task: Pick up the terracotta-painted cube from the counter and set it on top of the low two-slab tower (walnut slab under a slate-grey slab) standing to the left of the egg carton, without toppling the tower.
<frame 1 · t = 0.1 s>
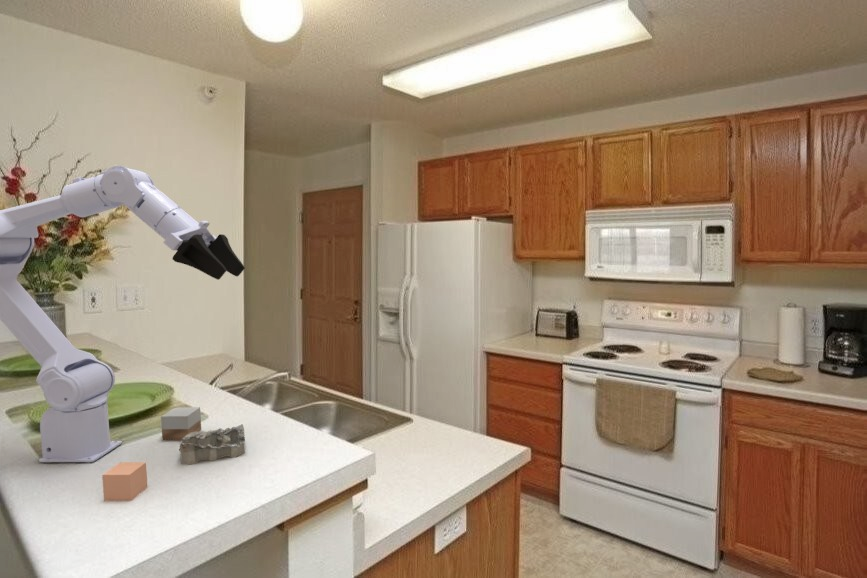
hand: (232, 273, 84), 32 cm above the worktop, tool tilted 50°, fingers open, 7 cm apart
egg carton: (213, 454, 87), on the worktop
terracotta cube: (126, 493, 73), on the worktop
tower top: (181, 424, 95), point 2 cm above the worktop
tower base: (182, 436, 95), on the worktop
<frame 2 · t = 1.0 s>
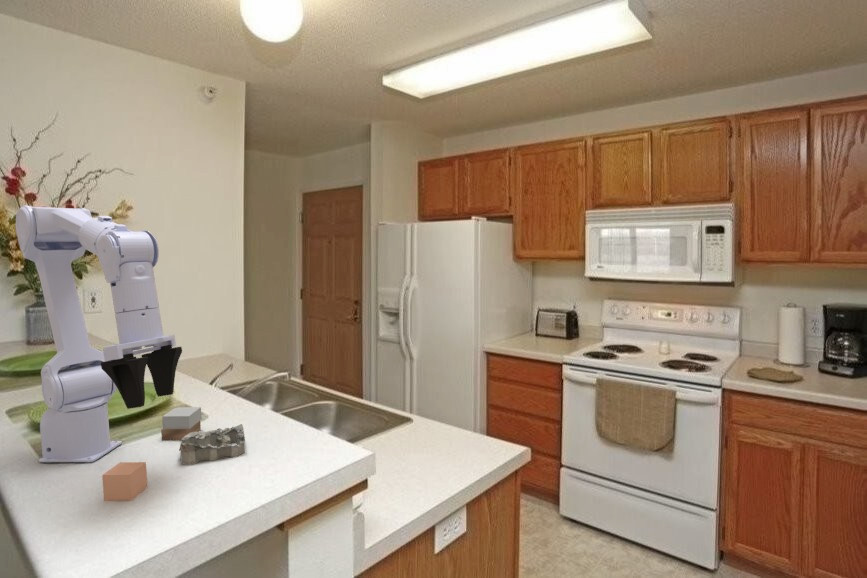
hand: (151, 401, 73), 14 cm above the worktop, tool pointing down, fingers open, 7 cm apart
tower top: (182, 424, 95), point 2 cm above the worktop, touching tower base
tower base: (181, 436, 95), on the worktop, touching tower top
everything else where it was.
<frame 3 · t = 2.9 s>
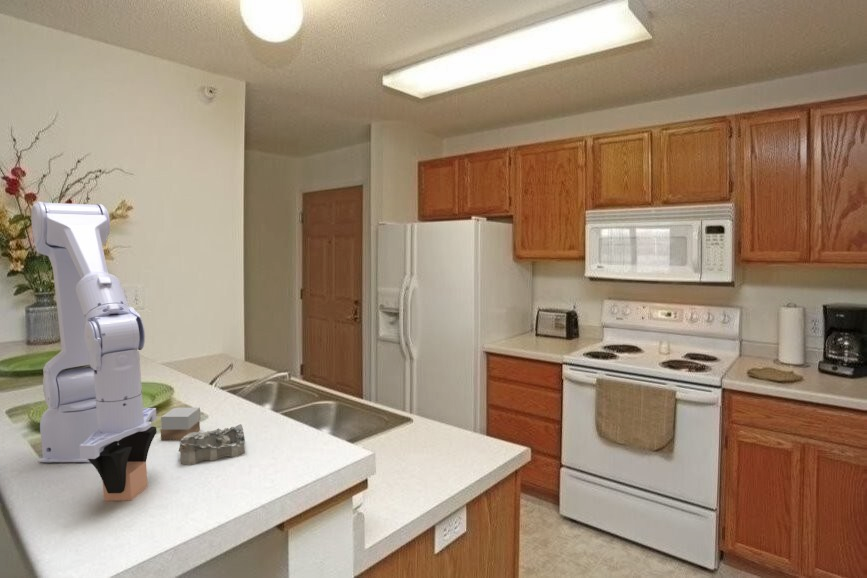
hand: (125, 484, 73), 1 cm above the worktop, tool pointing down, fingers closed on terracotta cube, 4 cm apart
terracotta cube: (126, 493, 73), on the worktop, touching gripper
everything else where it was.
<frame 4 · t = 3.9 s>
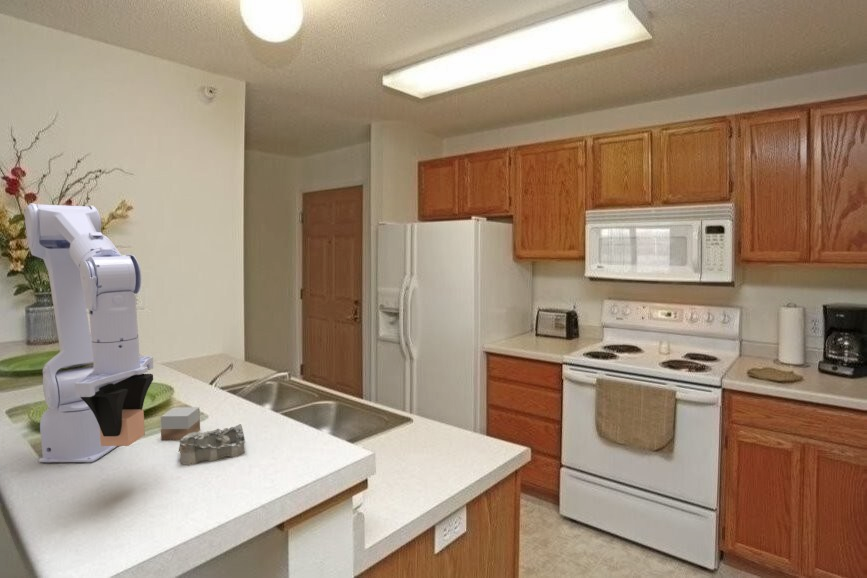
hand: (122, 429, 72), 10 cm above the worktop, tool pointing down, fingers closed on terracotta cube, 4 cm apart
terracotta cube: (123, 440, 72), point 8 cm above the worktop, touching gripper
everything else where it was.
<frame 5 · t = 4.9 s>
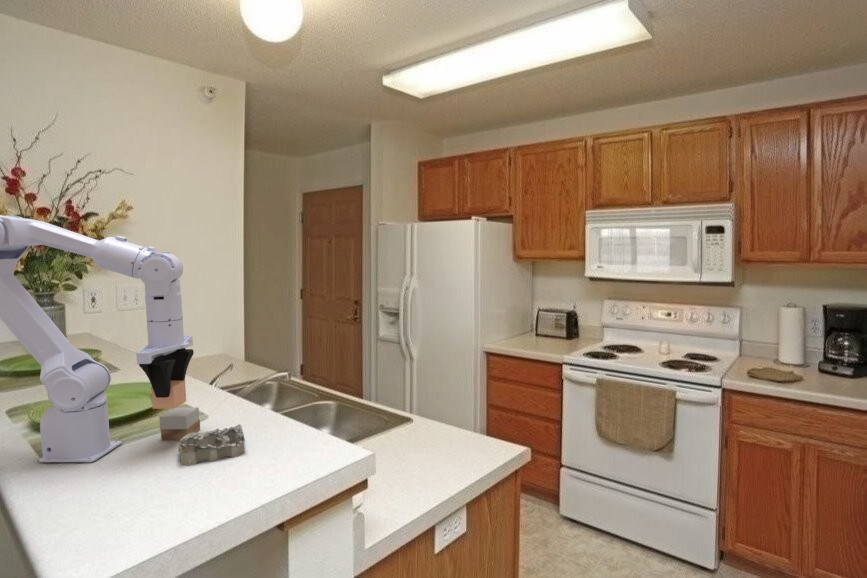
hand: (169, 392, 89), 10 cm above the worktop, tool pointing down, fingers closed on terracotta cube, 4 cm apart
terracotta cube: (169, 404, 90), point 8 cm above the worktop, touching gripper
everything else where it was.
when the fingers open (7 cm above the worktop, at t = 6.2 s): terracotta cube stays where it is, point 5 cm above the worktop.
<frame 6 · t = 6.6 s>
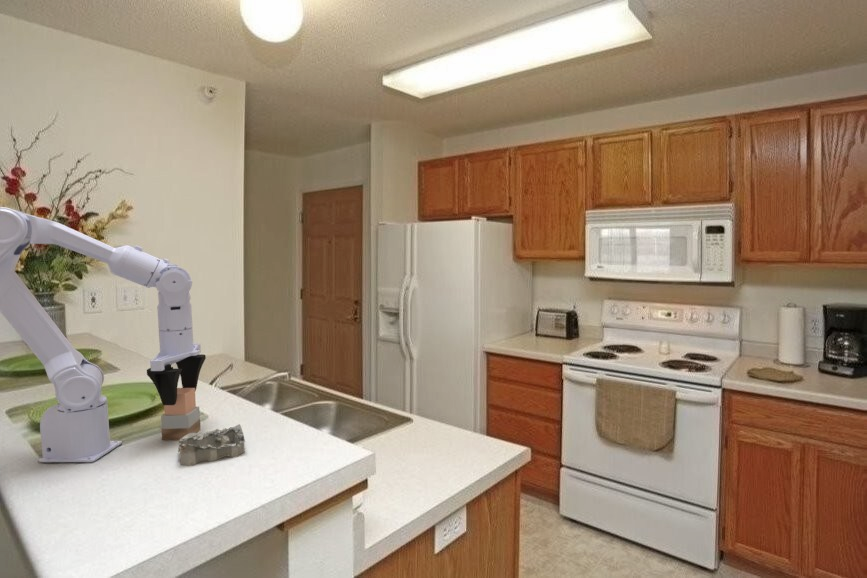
hand: (180, 398, 94), 7 cm above the worktop, tool pointing down, fingers open, 7 cm apart
terracotta cube: (180, 411, 95), point 5 cm above the worktop
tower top: (181, 423, 95), point 2 cm above the worktop
tower base: (181, 435, 95), on the worktop
everything else where it was.
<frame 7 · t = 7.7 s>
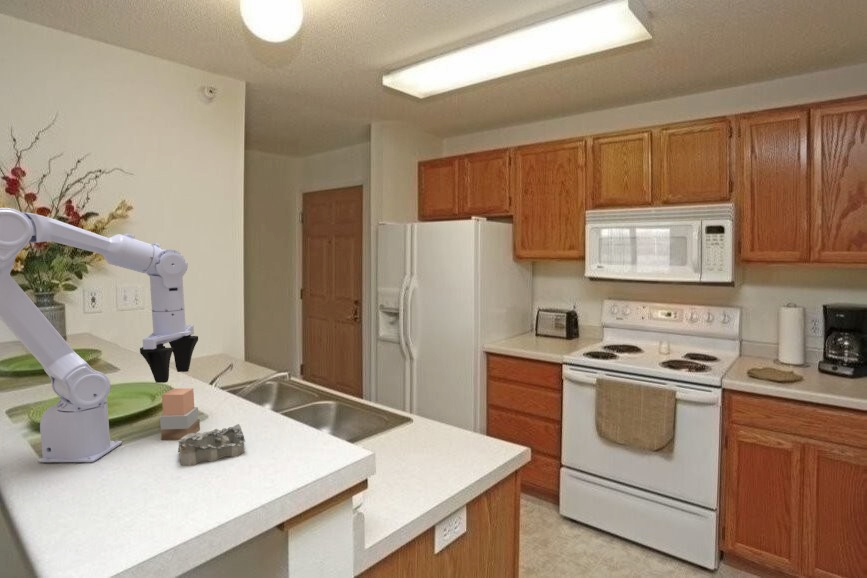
hand: (172, 376, 98), 10 cm above the worktop, tool pointing down, fingers open, 7 cm apart
terracotta cube: (179, 411, 95), point 5 cm above the worktop, touching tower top
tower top: (180, 424, 95), point 2 cm above the worktop, touching terracotta cube, tower base
tower base: (181, 436, 95), on the worktop, touching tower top
everything else where it was.
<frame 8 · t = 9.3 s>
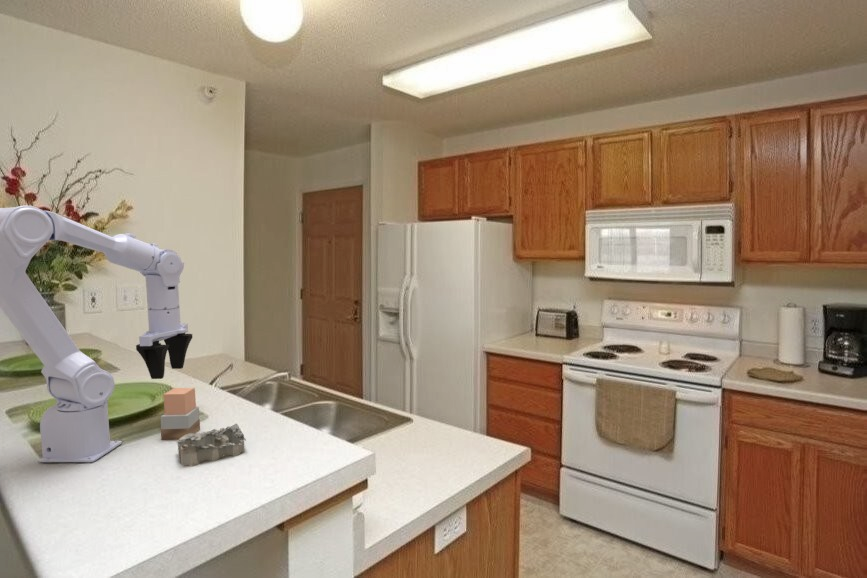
hand: (167, 373, 101), 10 cm above the worktop, tool pointing down, fingers open, 7 cm apart
nothing on the worktop moved.
at the end: terracotta cube 0.2 cm off-centre on the tower base, point 5.0 cm above the tower base's base; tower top 0.2 cm from the tower base (horizontally); terracotta cube tilted 1° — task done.
